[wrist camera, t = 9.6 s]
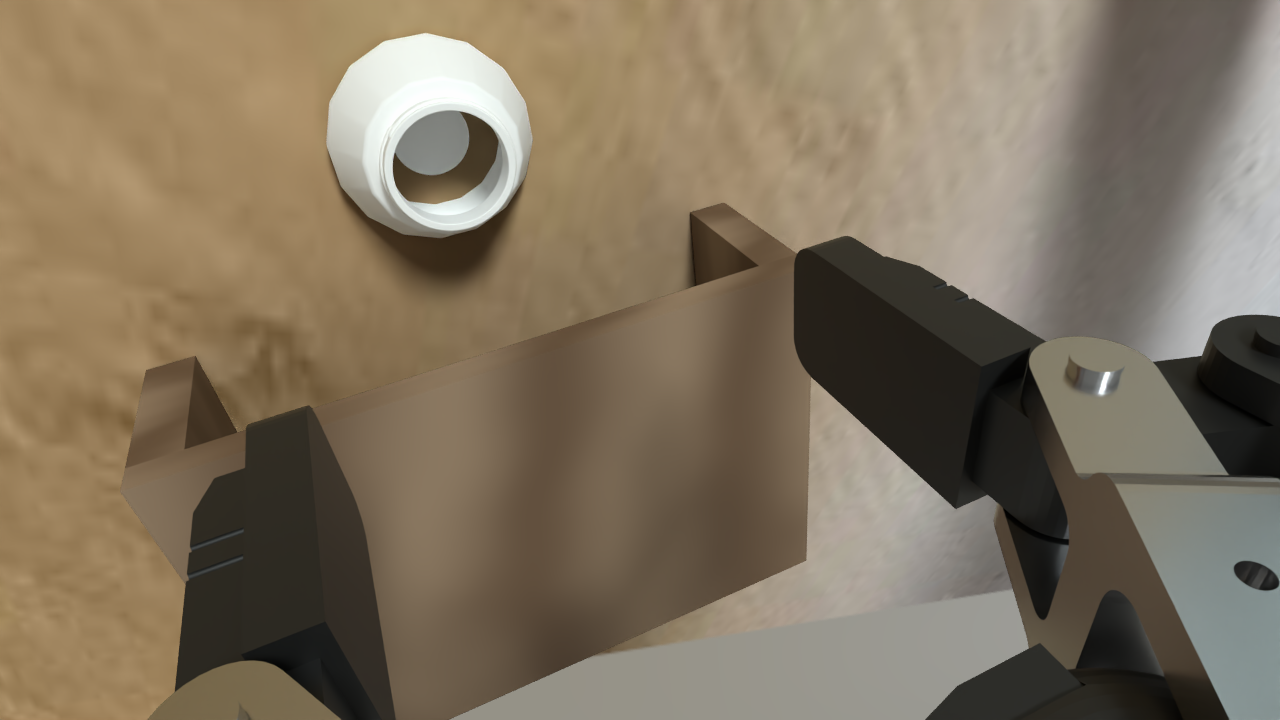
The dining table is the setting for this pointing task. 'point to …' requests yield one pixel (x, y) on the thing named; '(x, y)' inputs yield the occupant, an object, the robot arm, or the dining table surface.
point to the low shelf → (546, 476)
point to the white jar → (425, 131)
